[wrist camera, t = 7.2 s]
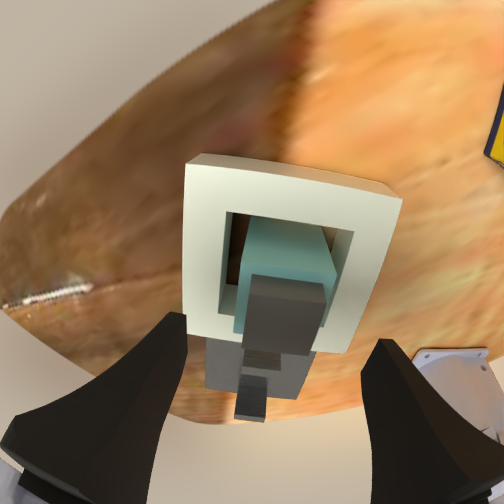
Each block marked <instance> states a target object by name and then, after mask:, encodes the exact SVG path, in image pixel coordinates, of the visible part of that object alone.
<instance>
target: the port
mask: <svg viewBox="0 0 504 504" xmlns="http://www.w3.org/2000/svg"><path fill="white" fill-rule="evenodd" d="M402 202H403V199H402V198H401V197H399V196H398V195H397V194H396V193H395V192H394V191H392V190H391V189H390V188H389V187H387V186H386V185H385V184H384V183H381V182H377V181H373V180H369V179H364V178H360V177H355V176H350V175H346V174H341V173H336V172H331V171H326V170H320V169H315V168H309V167H304V166H298V165H292V164H286V163H279V162H273V161H266V160H259V159H251V158H243V157H235V156H227V155H217V154H207V153H201V154H200V155H198V156H197V157H195V158H194V159H192V160H191V161H189V162H188V163H186V169H185V188H184V212H183V264H182V278H183V314H186V315H187V334H193V335H198V336H204V337H210V338H215V339H221V340H228V341H234V342H241V343H242V339H243V334H236V333H233V326H234V317H235V309H236V300H237V291H238V285H231V284H226V276H227V265H228V255H229V245H230V235H231V225H232V215H233V212H235V213H242V214H249V215H256V216H263V217H270V218H277V219H283V220H290V221H296V222H302V223H309V224H315V225H321V226H327V227H333V228H337V232H336V236H335V239H334V243H333V247H332V251H331V254H330V255H331V258H332V261H333V264H334V267H335V270H336V273H337V277H336V280H335V283H334V286H333V289H332V292H331V295H330V299H329V302H328V305H327V308H326V311H325V314H324V316H323V319H322V322H321V325H320V328H319V331H318V334H317V336H316V339H315V342H314V343H313V346H312V348H311V351H317V352H329V353H343V354H345V353H346V351H347V349H348V346H349V344H350V342H351V340H352V338H353V336H354V333H355V331H356V329H357V327H358V324H359V322H360V320H361V317H362V315H363V313H364V310H365V308H366V306H367V303H368V301H369V298H370V296H371V293H372V291H373V288H374V286H375V283H376V280H377V278H378V275H379V272H380V270H381V267H382V264H383V261H384V259H385V256H386V253H387V250H388V247H389V244H390V241H391V238H392V235H393V232H394V229H395V226H396V222H397V219H398V216H399V213H400V209H401V206H402Z"/></svg>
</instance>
